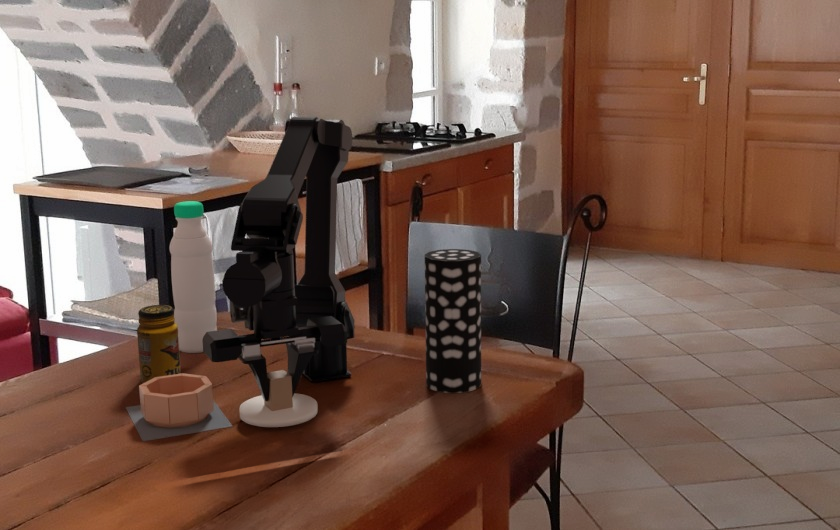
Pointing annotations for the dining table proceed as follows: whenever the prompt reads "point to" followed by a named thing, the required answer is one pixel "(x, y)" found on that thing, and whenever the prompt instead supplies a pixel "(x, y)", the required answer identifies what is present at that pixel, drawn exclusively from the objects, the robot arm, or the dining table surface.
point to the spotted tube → (453, 320)
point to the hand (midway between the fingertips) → (278, 398)
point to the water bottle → (192, 277)
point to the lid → (278, 404)
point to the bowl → (176, 400)
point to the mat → (153, 432)
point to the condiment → (157, 342)
